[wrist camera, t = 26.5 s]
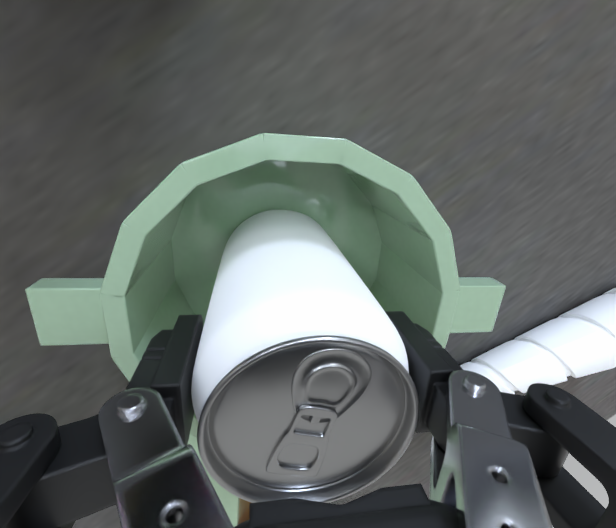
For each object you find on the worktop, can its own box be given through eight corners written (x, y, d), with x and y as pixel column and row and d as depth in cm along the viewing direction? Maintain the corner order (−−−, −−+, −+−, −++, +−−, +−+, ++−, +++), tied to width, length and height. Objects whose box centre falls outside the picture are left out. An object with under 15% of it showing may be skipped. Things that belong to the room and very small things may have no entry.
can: (349, 226, 19) (480, 352, 8) (311, 320, 21) (376, 525, 10) (239, 191, 17) (215, 289, 6) (210, 296, 19) (152, 512, 8)
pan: (86, 121, 16) (-46, 110, 9) (450, 147, 19) (563, 154, 12) (125, 357, 20) (60, 469, 14) (408, 346, 24) (472, 433, 17)
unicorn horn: (324, 395, 24) (340, 454, 20) (622, 269, 24) (704, 300, 20) (344, 436, 26) (363, 498, 21) (620, 319, 26) (695, 357, 22)
